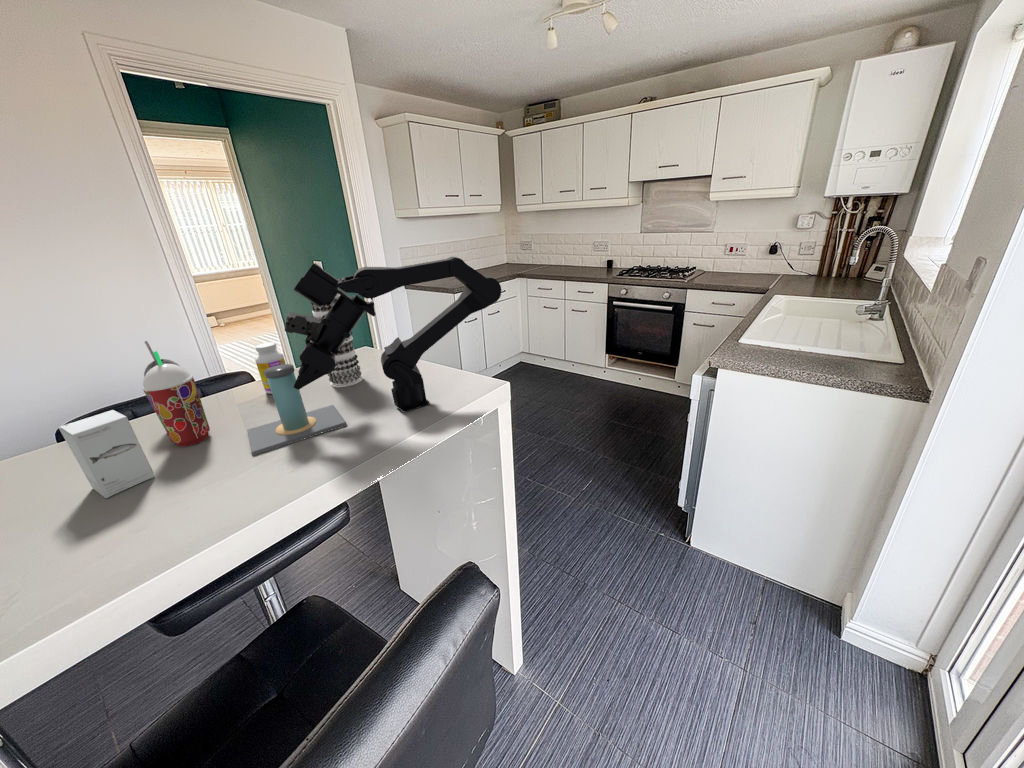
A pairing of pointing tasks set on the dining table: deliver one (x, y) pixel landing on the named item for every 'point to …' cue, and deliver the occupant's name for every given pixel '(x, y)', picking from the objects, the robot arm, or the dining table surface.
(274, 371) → the teal capped cylinder
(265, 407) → the dining table surface
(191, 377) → the smoothie
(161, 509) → the dining table surface
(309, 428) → the mat
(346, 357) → the decorative candle
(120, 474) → the supplement box
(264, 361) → the supplement bottle
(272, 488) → the dining table surface
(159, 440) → the dining table surface
